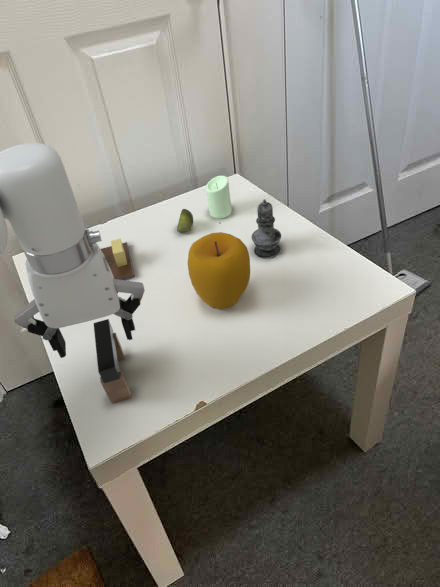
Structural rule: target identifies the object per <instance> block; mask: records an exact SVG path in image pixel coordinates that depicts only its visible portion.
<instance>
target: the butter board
mask: <svg viewBox="0 0 440 587" xmlns="http://www.w3.org/2000/svg"><path fill="white" fill-rule="evenodd" d="M122 245H123V248H124V251H125V255H126V260H127V265H124V266H120V267H118V266H117V263H116V261H115V258H114V255H113V250H112V245H110V246H106V247H103V248H100V249H101V251H102V252H103V254H104V256H105V258H106V260H107V262H108V265H109V267H110V269H111V272H112V274H113V277H114V279H118V280H126V281H127V280H129V279H133V278H136V277H135V273H134V272H135V271H134V267H133V263H132V258H131V254H130V249H129V244H128V242H127V241H126V242H122Z"/></svg>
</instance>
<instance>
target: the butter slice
mask: <svg viewBox="0 0 440 587" xmlns="http://www.w3.org/2000/svg"><path fill="white" fill-rule="evenodd" d="M122 243H123V242H122V239H121V238H117V239H113V240H111V241H110V246H112V250H113V255H114V258H115V261H116V263H117V266H118V267H120V266H124V265H127V260H126V255H125V251H124V248H123V245H122Z"/></svg>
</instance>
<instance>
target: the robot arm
mask: <svg viewBox="0 0 440 587" xmlns="http://www.w3.org/2000/svg"><path fill="white" fill-rule="evenodd" d="M6 220H7V221H8V222H9V224H10V226H11V228H12V230H13V232H14V234H15V236H16V238H17V241H18V243H19V245H20V247H21V249H22V251H23V253H24V255H25V257H26V260H25V269H26V275H27V278H28V279H27V280H28V282H29V286H30V290H31V292H32V296H33V299H32V300H31V301H30V302H29V303H27V304H26V305H25V306H23V307H22V308H20V309H19V310H18V311H16V312H14V320H13V321H14V323H15V324H16V325H18V326H20V327H21V328H23V329H26V330H27V332H28V333H29V334H33V335H37V336H39V337H42V339H43V340H44V341H48V343H49V345H50V347H51V349H52V351H53V352H55V351H57V354H58V356H59V358H60V359H63V358H66V356H67V350H66V349H67V347H66V346H67V345H66V344H67V342H66V340H65V338H64V336H63V333H62V332H61V329H62V328H67V327H71V326H75V325H79V324H83V323H87V322H90V321H91V322H92V321H94V320H99V319H102V318H105V317H109V316H111V315H115V316H117V317H120V320H121V325H122V328H123V331H124V334H125V337H126V340H128V341H132V340H133V334H132V332H133V331H136V325H135V324H134V319H133V315H134V313H135V312H136V311H137V309H138V308H139V307H140V306H141V301H142V300H143V297H144V294H145V286H144V283H143V282H140V281H133V280H127V279H126V280H118V279H114V277H113V274H112V272H111V269H110V267H109V265H108V262H107V260H106V258H105V256H104V254H103V252H102V251H101V249H102V248H101V247H100V245H99V244H98V243H100V242H102V236H101V232H100V230H91V231H90V229H88V228H87V226H86V224H85V223H84V220H83V217H82V215H81V212H80V209H79V206H78V203H77V200H76V197H75V194H74V192H73V188H72V185H71V183H70V180H69V177H68V174H67V171H66V168H65V165H64V162H63V160H62V158H61V155H60V154H59V153H58V151H56V150H55V149H54V148H53V147H51V146H50V145H48V144H45V143H42V142H41V143H40V142H26V143H21V144H17V145H13V146H10V147H8V148H6V149H3V150H1V151H0V258H1V257H2V255H3V254H4V253H5V250H6V247H7V245H8V240H9V230H8V226H7V222H6ZM119 293H121V294H122V293H123V294H130V295H129V297H127V299H125V298H122V297H121V296H119ZM38 313H39V315H40V317H41V319H37V318H34V316H35V315H36V314H38Z"/></svg>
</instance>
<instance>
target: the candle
mask: <svg viewBox="0 0 440 587" xmlns="http://www.w3.org/2000/svg"><path fill="white" fill-rule="evenodd" d="M205 191H206V197H207V202H208V210H209V215H210V216H211V217H212V218H214V219H225V218H227V217H229V216H230V215H231V214H232V210H233V209H232V200H231V193H230V183H229V178H228V177H227V176H226V175H217V176H214V177H213V178H211V179H210V180H209V181H208V182H207V183H206V186H205Z"/></svg>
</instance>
